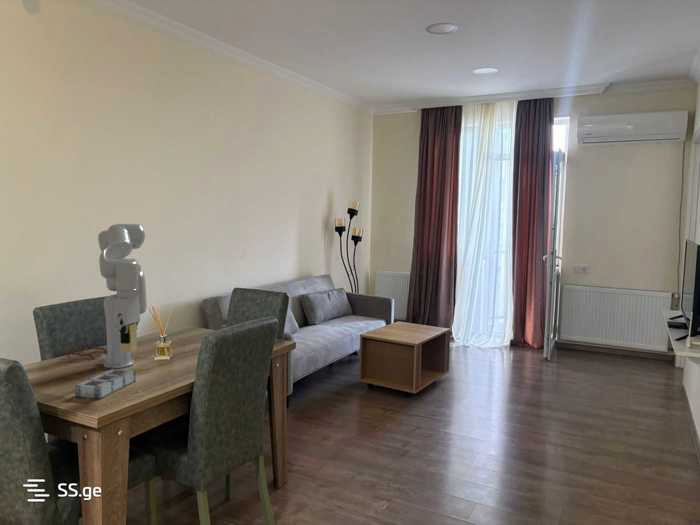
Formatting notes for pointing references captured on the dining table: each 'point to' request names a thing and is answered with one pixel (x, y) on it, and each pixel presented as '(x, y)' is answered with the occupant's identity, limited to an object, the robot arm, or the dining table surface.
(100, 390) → the grey compartment tray
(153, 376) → the dining table surface
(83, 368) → the dining table surface
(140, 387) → the dining table surface
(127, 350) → the peg
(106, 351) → the glasses
